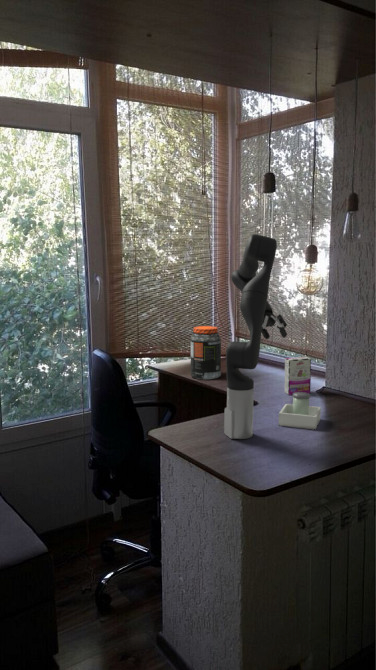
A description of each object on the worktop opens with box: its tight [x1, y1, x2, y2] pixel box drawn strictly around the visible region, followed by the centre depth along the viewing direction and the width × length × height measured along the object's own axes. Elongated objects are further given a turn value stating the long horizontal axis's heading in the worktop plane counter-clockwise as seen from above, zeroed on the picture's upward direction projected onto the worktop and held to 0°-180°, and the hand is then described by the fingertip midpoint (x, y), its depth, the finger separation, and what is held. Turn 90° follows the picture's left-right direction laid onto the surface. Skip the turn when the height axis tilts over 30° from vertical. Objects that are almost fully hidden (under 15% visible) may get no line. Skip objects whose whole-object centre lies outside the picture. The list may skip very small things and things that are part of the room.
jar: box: [292, 392, 311, 416], centre depth 208 cm, size 6×6×10 cm
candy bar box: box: [284, 356, 312, 396], centre depth 251 cm, size 11×5×16 cm, turn 105°
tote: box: [278, 403, 322, 431], centre depth 208 cm, size 14×14×5 cm
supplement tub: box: [189, 325, 222, 380], centre depth 283 cm, size 16×16×26 cm
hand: (276, 337), depth 216 cm, fingers open, 8 cm apart
